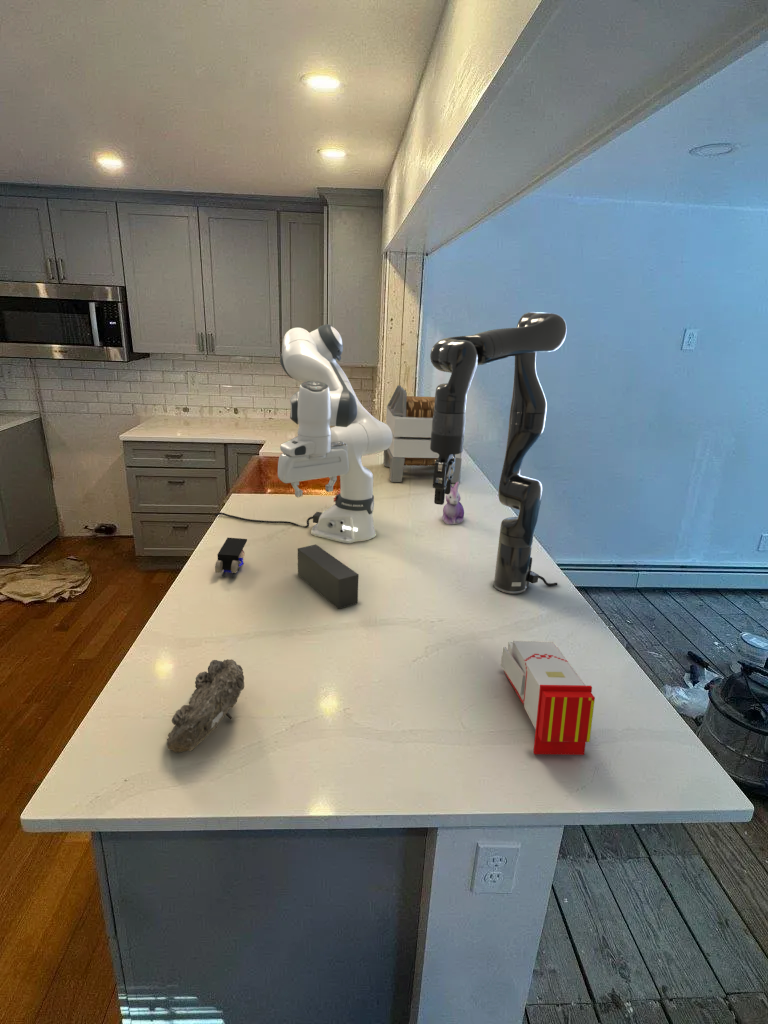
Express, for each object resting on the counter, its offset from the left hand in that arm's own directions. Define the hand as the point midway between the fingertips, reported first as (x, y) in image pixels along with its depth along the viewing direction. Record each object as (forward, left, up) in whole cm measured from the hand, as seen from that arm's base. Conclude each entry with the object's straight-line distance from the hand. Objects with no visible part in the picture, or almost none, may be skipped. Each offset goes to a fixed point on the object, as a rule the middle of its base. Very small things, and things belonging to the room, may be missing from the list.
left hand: (314, 493), depth 155 cm
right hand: (+37, -11, +7) cm, 39 cm away
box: (+6, -4, -26) cm, 27 cm away
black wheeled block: (-25, -3, -26) cm, 36 cm away
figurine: (+30, +63, -26) cm, 75 cm away
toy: (+64, -37, -26) cm, 78 cm away
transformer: (+4, +123, -26) cm, 126 cm away
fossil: (+4, -61, -26) cm, 66 cm away
